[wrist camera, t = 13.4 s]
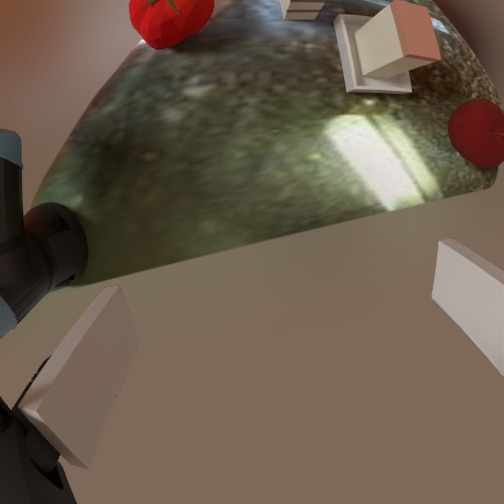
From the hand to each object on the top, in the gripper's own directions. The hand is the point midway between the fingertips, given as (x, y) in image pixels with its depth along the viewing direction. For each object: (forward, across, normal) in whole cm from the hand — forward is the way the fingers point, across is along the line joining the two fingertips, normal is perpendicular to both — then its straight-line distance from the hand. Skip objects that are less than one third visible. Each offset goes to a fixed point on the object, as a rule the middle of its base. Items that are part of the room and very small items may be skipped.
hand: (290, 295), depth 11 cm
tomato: (+32, -8, +27) cm, 42 cm away
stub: (+31, +19, +18) cm, 41 cm away
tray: (+32, +19, +18) cm, 41 cm away
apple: (+32, +36, +6) cm, 48 cm away
